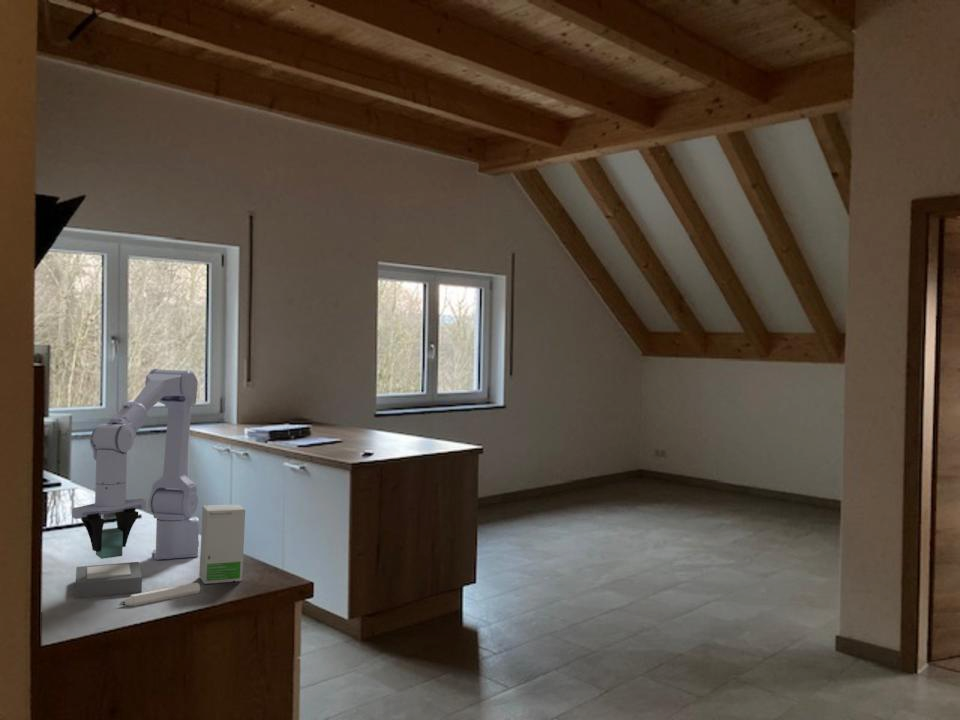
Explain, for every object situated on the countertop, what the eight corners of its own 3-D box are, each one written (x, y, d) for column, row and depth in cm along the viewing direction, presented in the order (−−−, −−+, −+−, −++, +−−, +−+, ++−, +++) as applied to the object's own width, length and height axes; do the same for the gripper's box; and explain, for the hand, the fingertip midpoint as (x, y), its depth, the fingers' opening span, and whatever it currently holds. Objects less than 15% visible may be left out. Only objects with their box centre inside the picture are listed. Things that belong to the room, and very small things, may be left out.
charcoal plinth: (138, 575, 172) (138, 560, 172) (141, 591, 161) (142, 575, 161) (76, 581, 167) (76, 565, 167) (75, 598, 156) (75, 581, 156)
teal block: (116, 551, 167) (117, 527, 167) (122, 556, 164) (122, 531, 164) (95, 554, 164) (96, 530, 164) (101, 558, 161) (102, 534, 161)
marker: (116, 613, 152) (196, 595, 163) (120, 610, 150) (201, 592, 162) (113, 599, 153) (194, 583, 164) (117, 596, 151) (198, 580, 163)
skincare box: (203, 585, 167) (205, 511, 167) (198, 576, 173) (200, 505, 173) (244, 581, 171) (246, 508, 171) (238, 572, 177) (240, 502, 177)
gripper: (134, 476, 172) (132, 538, 172) (65, 483, 161) (63, 551, 161) (152, 480, 168) (150, 544, 168) (82, 488, 156) (80, 557, 156)
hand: (109, 548), depth 164 cm, fingers closed on teal block, 5 cm apart
